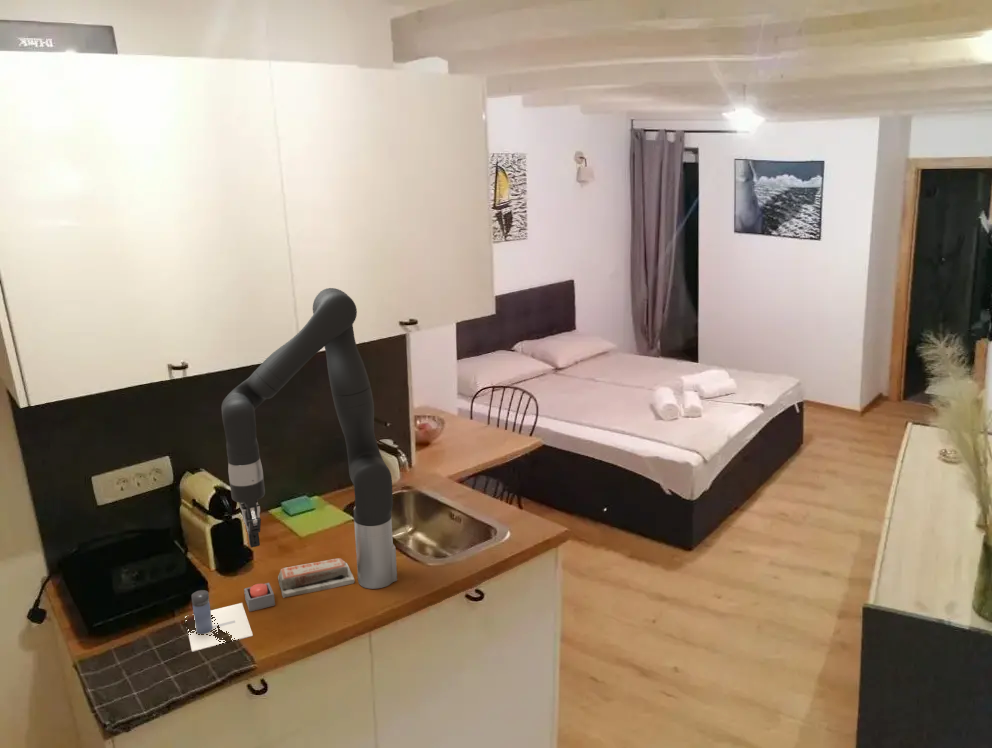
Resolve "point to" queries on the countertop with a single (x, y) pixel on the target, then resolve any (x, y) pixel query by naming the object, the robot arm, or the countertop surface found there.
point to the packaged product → (314, 577)
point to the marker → (202, 611)
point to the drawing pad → (223, 627)
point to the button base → (259, 599)
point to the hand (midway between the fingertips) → (254, 545)
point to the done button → (258, 590)
